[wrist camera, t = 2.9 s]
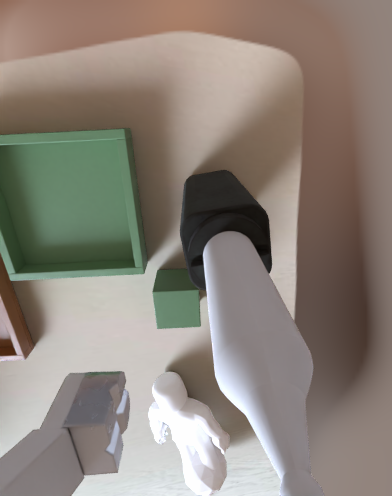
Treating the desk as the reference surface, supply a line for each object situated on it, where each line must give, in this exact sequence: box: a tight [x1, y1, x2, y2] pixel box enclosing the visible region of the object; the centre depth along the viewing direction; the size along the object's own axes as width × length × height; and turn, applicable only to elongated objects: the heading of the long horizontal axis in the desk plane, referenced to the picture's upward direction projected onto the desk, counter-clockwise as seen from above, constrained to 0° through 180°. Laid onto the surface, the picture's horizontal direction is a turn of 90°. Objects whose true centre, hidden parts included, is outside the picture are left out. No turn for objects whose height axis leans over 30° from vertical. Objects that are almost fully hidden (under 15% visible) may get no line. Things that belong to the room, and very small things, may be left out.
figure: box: [148, 372, 230, 496], centre depth 39 cm, size 11×7×20 cm
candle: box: [180, 170, 324, 496], centre depth 17 cm, size 5×5×25 cm
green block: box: [153, 269, 201, 329], centre depth 30 cm, size 4×4×4 cm
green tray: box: [0, 128, 148, 281], centre depth 27 cm, size 14×14×3 cm
